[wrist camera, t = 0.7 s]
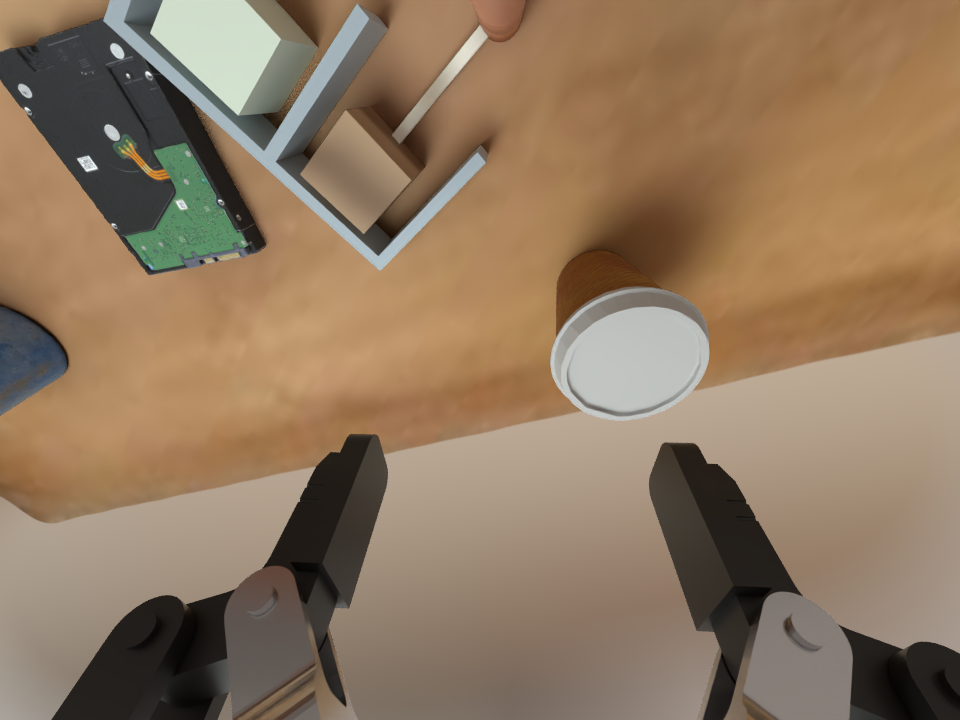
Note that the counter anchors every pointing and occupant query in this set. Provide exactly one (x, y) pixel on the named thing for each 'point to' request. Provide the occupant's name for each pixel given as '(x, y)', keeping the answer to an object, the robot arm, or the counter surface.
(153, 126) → the disk drive
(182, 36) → the block
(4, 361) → the bottle
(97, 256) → the counter surface
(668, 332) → the disposable coffee cup
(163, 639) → the robot arm
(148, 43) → the lane rack
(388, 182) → the block with brown handle
